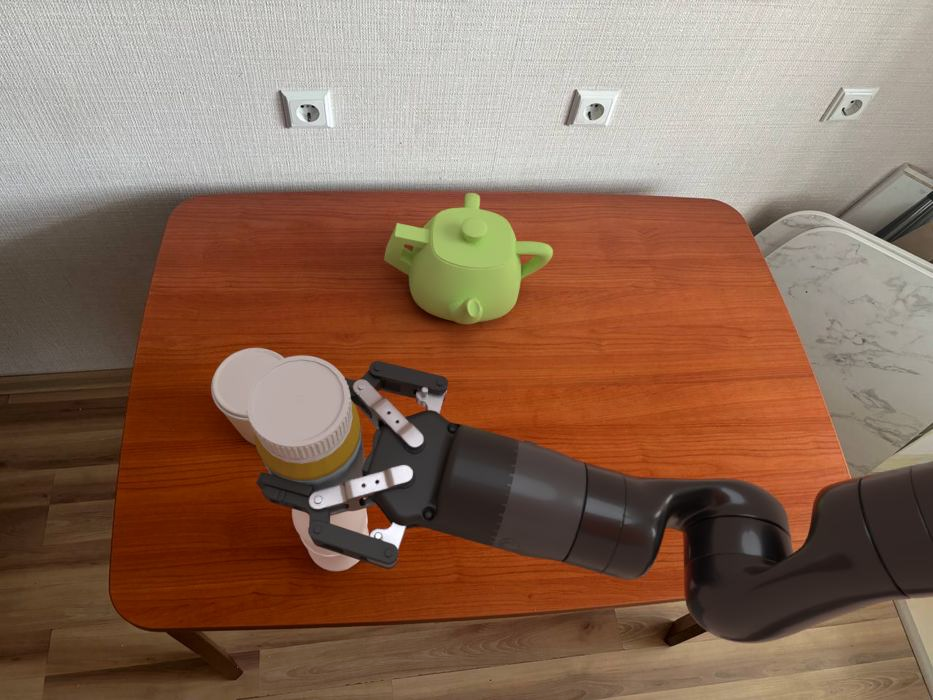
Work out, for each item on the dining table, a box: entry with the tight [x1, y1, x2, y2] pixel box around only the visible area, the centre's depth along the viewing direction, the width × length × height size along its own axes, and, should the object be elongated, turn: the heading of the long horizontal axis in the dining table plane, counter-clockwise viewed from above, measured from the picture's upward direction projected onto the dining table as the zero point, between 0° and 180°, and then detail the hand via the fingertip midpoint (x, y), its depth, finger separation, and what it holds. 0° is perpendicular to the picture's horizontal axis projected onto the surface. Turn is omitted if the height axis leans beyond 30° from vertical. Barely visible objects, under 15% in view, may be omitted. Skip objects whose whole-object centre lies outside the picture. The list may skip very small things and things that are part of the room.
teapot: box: [383, 192, 554, 326], centre depth 87 cm, size 19×20×14 cm
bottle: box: [246, 355, 366, 491], centre depth 42 cm, size 7×7×15 cm
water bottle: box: [291, 498, 370, 572], centre depth 62 cm, size 7×7×25 cm
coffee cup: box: [210, 347, 285, 446], centre depth 74 cm, size 9×9×12 cm
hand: (282, 429), depth 42 cm, fingers closed on bottle, 7 cm apart
